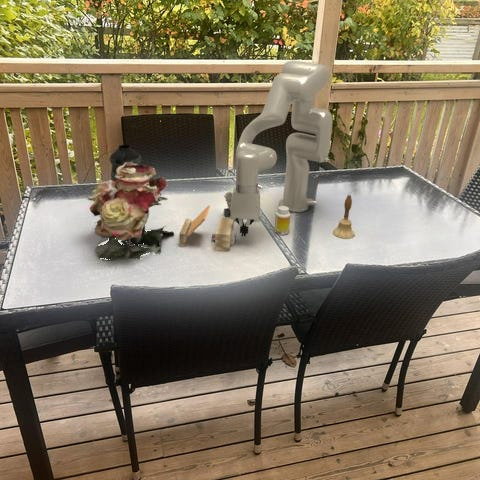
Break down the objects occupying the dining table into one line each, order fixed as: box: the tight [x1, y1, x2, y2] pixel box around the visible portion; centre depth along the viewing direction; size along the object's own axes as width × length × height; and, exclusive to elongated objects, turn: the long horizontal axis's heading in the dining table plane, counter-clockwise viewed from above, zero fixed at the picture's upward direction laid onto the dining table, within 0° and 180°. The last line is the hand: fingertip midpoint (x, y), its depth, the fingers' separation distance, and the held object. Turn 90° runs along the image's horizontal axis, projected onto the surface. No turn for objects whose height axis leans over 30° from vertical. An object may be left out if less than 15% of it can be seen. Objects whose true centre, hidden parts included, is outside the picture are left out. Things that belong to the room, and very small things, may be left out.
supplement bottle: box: [273, 205, 291, 236], centre depth 171 cm, size 6×6×10 cm
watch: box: [223, 189, 234, 218], centre depth 181 cm, size 6×8×11 cm
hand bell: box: [332, 194, 355, 240], centre depth 171 cm, size 8×8×16 cm
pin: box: [211, 227, 237, 246], centre depth 164 cm, size 8×4×5 cm, turn 85°
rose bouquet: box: [86, 162, 175, 262], centre depth 153 cm, size 26×29×30 cm
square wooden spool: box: [179, 216, 235, 252], centre depth 164 cm, size 18×14×6 cm
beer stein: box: [108, 144, 142, 189], centre depth 183 cm, size 16×19×25 cm
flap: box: [186, 205, 211, 239], centre depth 162 cm, size 10×11×1 cm
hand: (243, 234), depth 163 cm, fingers closed
